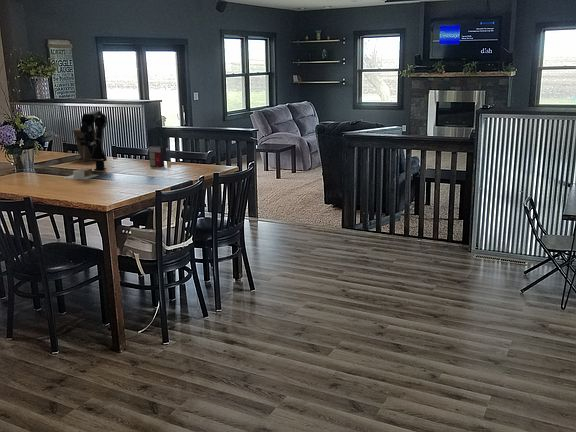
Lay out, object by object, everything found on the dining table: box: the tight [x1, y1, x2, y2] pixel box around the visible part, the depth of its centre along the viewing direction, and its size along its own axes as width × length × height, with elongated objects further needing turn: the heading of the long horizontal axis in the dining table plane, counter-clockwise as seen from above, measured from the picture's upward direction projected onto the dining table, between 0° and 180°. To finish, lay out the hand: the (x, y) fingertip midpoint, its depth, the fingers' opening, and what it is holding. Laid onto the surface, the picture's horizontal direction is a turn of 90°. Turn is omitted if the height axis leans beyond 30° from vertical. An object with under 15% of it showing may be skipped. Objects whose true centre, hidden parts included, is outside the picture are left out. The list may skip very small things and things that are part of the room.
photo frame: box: [72, 127, 97, 162], centre depth 467 cm, size 15×22×25 cm
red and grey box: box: [148, 145, 165, 168], centre depth 434 cm, size 11×4×15 cm, turn 65°
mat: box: [61, 174, 100, 181], centre depth 392 cm, size 17×18×1 cm
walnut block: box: [72, 168, 93, 177], centre depth 394 cm, size 4×7×12 cm
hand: (91, 154), depth 405 cm, fingers closed
